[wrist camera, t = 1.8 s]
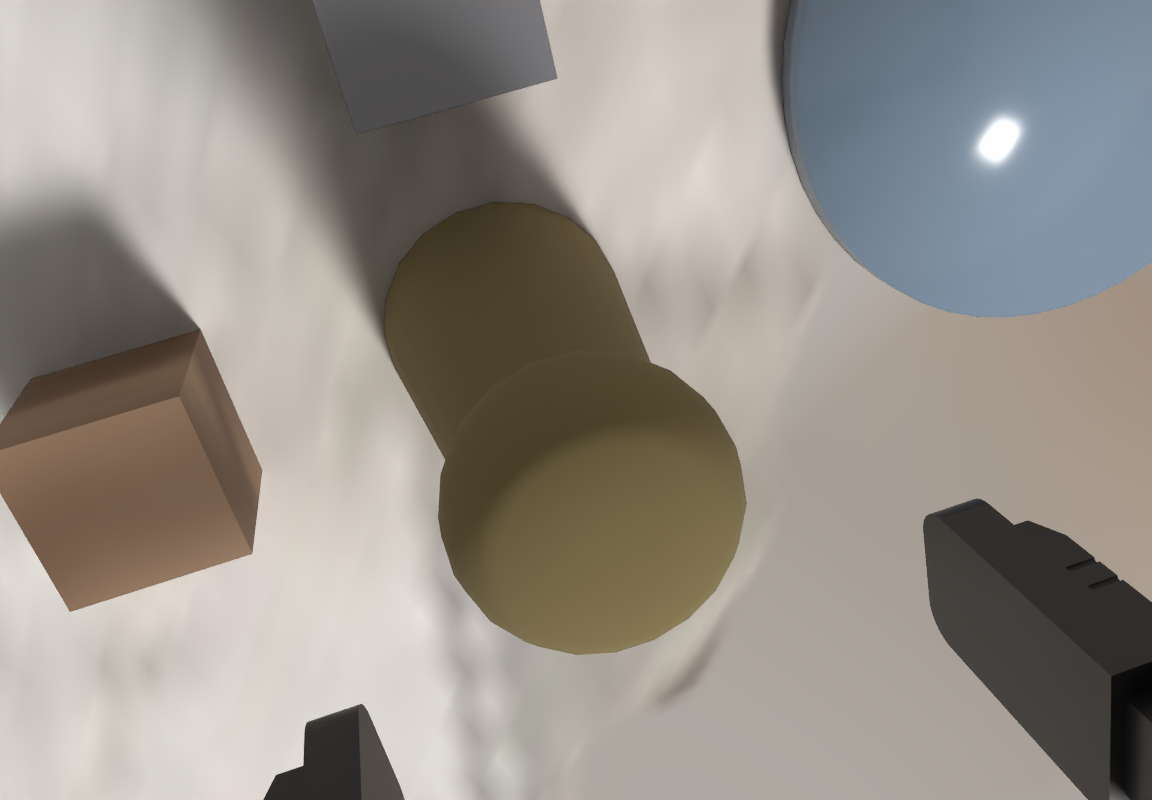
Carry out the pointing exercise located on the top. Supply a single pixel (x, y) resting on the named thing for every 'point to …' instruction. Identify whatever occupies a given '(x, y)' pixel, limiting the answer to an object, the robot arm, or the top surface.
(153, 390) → the walnut block
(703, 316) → the top surface
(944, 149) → the slate plate
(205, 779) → the top surface
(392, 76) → the graphite block
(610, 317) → the cork
